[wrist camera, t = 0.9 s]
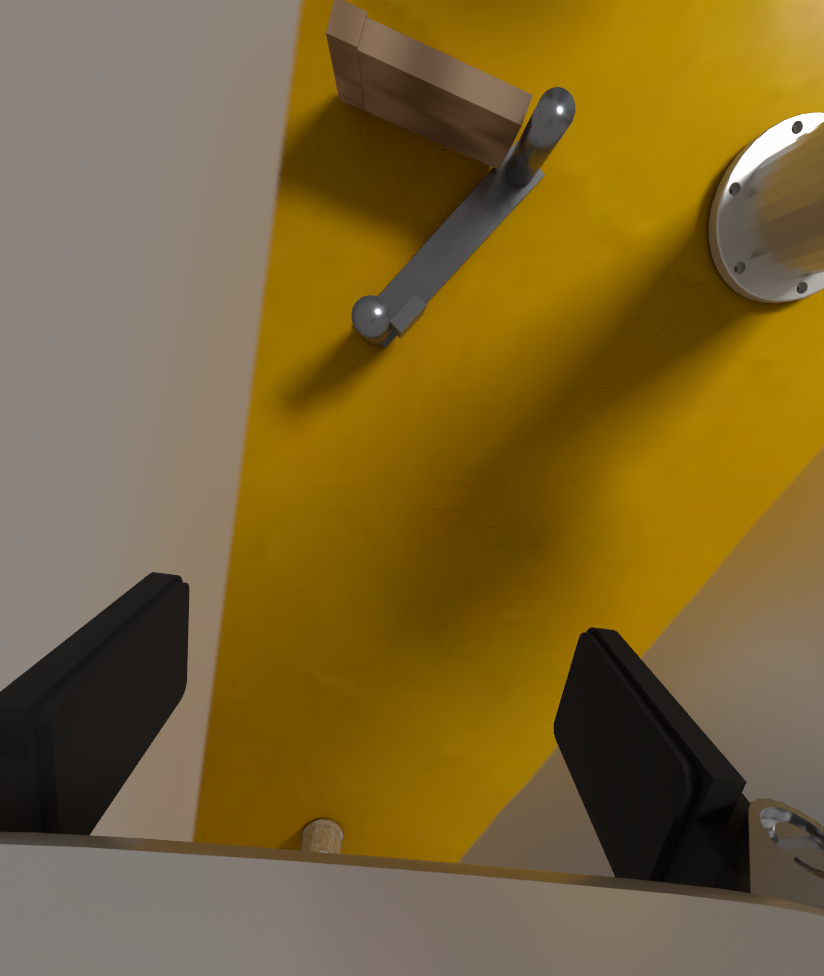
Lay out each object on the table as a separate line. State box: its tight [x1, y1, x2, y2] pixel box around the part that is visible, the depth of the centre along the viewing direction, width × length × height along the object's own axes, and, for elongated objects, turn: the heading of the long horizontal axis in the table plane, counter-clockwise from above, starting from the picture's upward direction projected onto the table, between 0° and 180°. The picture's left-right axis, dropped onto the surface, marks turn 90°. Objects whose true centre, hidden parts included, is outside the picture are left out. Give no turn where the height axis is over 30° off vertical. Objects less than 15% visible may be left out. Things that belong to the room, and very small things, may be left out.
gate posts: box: [352, 87, 575, 348], centre depth 29 cm, size 18×4×8 cm, turn 136°
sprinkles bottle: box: [300, 819, 343, 854], centre depth 40 cm, size 5×4×14 cm
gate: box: [326, 0, 532, 170], centre depth 27 cm, size 12×2×6 cm, turn 71°
